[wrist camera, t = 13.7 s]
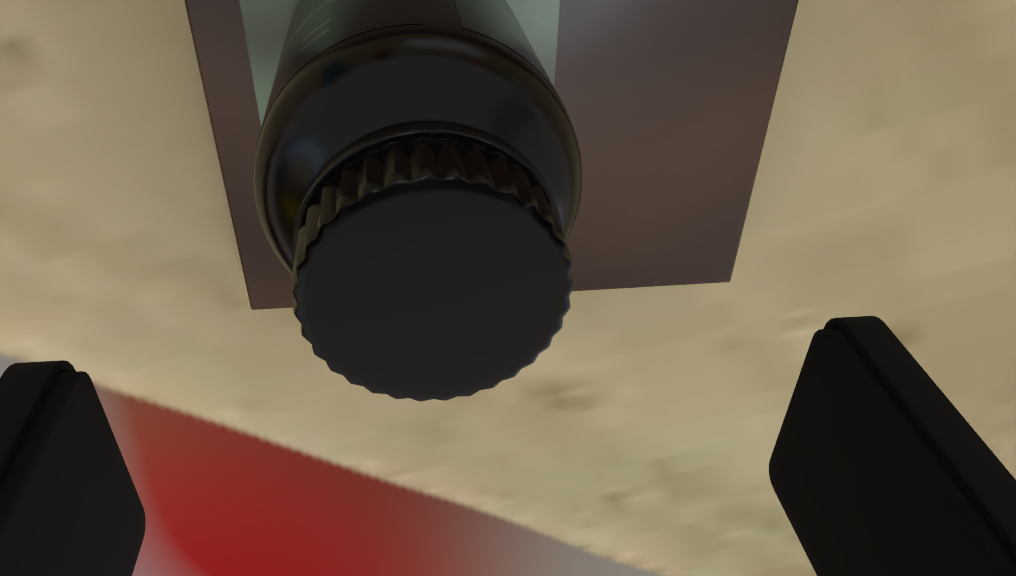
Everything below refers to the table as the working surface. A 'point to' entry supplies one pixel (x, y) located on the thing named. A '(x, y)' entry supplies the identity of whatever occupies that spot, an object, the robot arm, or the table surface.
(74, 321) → the table surface
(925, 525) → the robot arm
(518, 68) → the supplement bottle
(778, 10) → the walnut board
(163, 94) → the table surface
